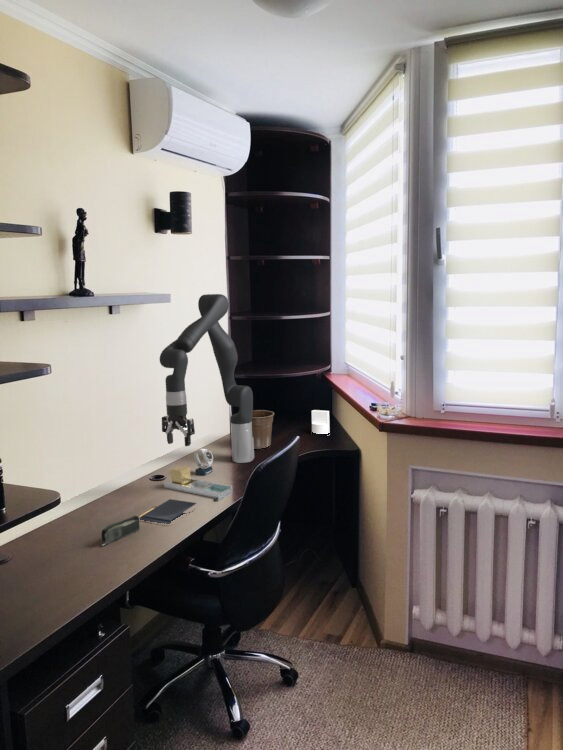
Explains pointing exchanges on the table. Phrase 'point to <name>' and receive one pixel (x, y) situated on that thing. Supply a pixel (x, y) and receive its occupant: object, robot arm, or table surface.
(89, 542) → the table surface
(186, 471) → the tan block
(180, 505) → the dark blue notebook
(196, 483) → the tray with compartments
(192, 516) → the table surface
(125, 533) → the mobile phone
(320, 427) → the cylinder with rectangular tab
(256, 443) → the plant pot
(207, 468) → the watch
